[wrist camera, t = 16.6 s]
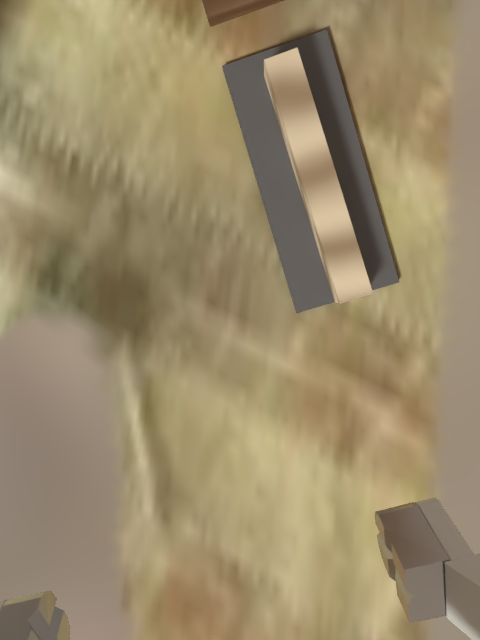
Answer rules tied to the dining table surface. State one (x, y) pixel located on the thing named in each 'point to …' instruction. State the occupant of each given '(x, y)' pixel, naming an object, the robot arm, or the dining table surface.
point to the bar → (316, 176)
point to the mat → (280, 178)
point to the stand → (232, 8)
